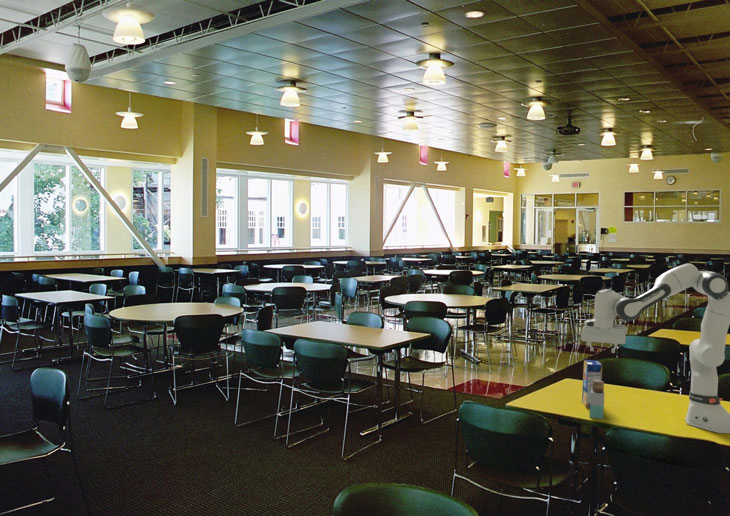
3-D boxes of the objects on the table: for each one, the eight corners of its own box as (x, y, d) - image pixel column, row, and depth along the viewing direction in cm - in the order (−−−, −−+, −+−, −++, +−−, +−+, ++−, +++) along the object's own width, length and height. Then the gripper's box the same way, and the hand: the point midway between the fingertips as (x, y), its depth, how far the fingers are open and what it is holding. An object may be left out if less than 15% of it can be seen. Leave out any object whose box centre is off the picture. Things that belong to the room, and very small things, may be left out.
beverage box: (585, 407, 312) (588, 364, 311) (581, 401, 323) (584, 359, 322) (600, 408, 311) (602, 365, 310) (595, 402, 322) (597, 360, 321)
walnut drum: (605, 392, 296) (606, 382, 295) (597, 393, 294) (598, 383, 293) (597, 390, 300) (598, 379, 300) (590, 390, 298) (590, 380, 298)
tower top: (603, 403, 299) (604, 391, 299) (603, 406, 293) (604, 394, 293) (590, 401, 301) (591, 389, 301) (590, 404, 296) (590, 392, 295)
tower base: (603, 415, 299) (603, 403, 299) (603, 419, 294) (603, 406, 293) (589, 413, 301) (590, 401, 301) (589, 417, 296) (590, 404, 296)
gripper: (626, 323, 296) (625, 352, 297) (581, 320, 303) (580, 348, 304) (627, 325, 290) (626, 354, 291) (581, 322, 297) (580, 351, 298)
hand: (602, 351), depth 297 cm, fingers open, 8 cm apart
